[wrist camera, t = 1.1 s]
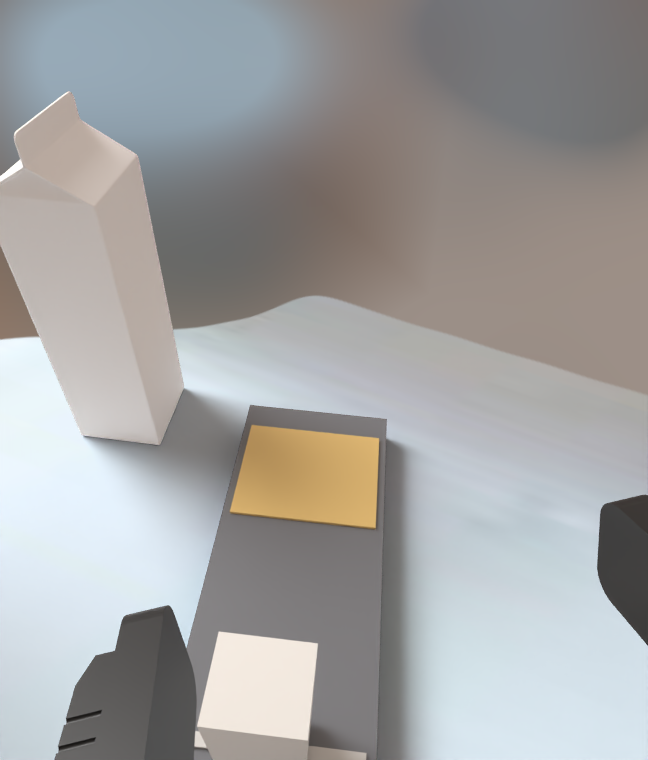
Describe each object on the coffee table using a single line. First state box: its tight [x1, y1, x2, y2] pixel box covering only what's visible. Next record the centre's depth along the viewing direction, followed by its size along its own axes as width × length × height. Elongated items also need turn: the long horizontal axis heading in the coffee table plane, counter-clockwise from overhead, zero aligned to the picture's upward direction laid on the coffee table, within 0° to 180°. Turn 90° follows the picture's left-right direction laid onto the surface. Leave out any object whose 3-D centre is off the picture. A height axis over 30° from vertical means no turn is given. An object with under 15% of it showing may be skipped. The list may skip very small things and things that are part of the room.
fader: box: [197, 632, 318, 760], centre depth 22 cm, size 4×3×9 cm
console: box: [186, 405, 387, 760], centre depth 32 cm, size 10×26×2 cm, turn 174°
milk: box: [0, 92, 184, 445], centre depth 35 cm, size 6×6×22 cm
